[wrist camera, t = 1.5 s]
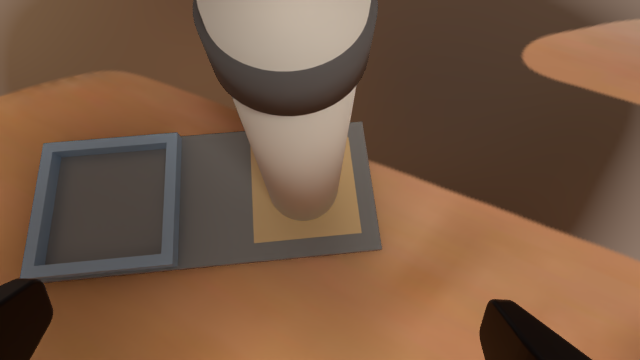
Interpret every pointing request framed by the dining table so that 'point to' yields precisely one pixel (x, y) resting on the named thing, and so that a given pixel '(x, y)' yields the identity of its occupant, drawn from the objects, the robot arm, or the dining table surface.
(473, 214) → the dining table surface
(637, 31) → the dining table surface
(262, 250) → the grey rectangular board
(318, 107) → the white grey banded cylinder
